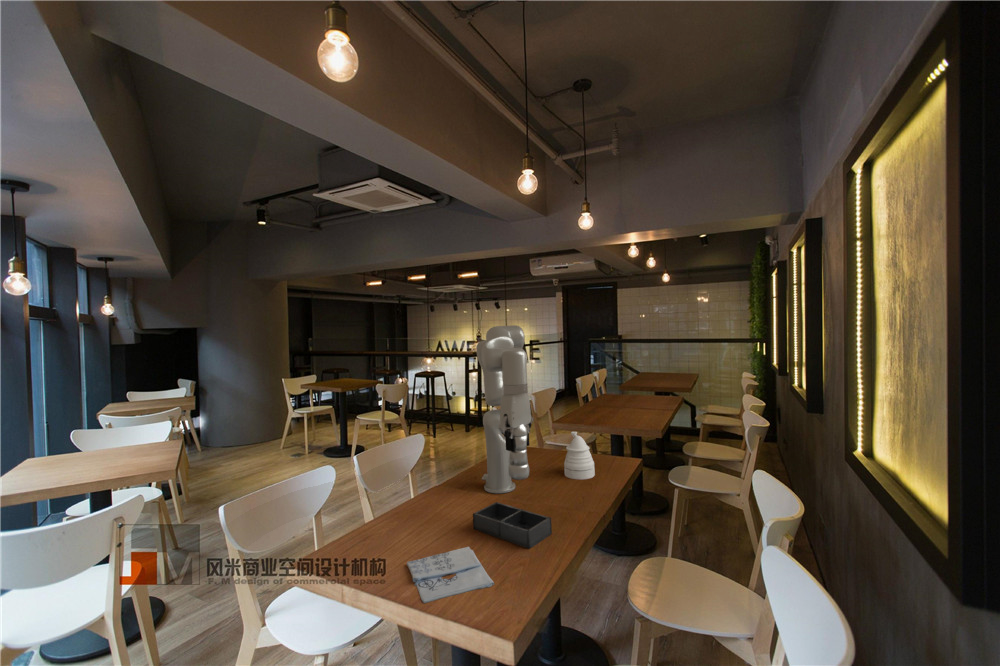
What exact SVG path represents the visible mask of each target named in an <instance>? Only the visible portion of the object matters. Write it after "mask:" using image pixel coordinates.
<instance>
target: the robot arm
mask: <svg viewBox="0 0 1000 666" xmlns="http://www.w3.org/2000/svg"><path fill="white" fill-rule="evenodd" d="M524 345H525V332H524V330H523V328H522V327H521V326H520V325H515V324H513V325H495V326H492V327H490V328H489V329H488V330H487V331H486V333H485V339H484V340H481V341H478V343H477V344H476V347H475V348H476V357H477V360H478V362H479V363H478V364H479V365H480V367H481V370H482V373H483V375H482V376H483V388H484V389H483V390H484V399H485V400H484V401H485V403H486V404H487V405H488V406H489V407H499V408H500V409H498V408H497V409H491V410H489V411H486V412H485V413H484V414H483V417H482V425H483V428H484V434H485V447H486V467H487V468H486V470H487V473H484V474H483V476H481V480H482V481H485V484H484V486H483V488H484V490H485V491H486V492H488V493H490V494H505V493H510V492H512V491H514V490H515V489H516V483H515V482H513V481H512V478H511V477H510V476H509V471H508V470H509V462H510V451H512V452H514V451H515V438H513V435H514V431H515V428H518V427H519V426H520V425H522V424H524V425H525V426H526V428H527V430H528V434H527V447H529V446H530V433H531V428H532V425H533V422H534V417H533V415H532V411H531V402H530V396H529V393H528V392H529V391H528V388H529V387H528V372H527V371H528V367H527V364H528V355H527V352H526V351H525V350H524V349H523V348H524ZM509 425H510V427H509ZM509 430H511V431H510V433H509Z"/></svg>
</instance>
